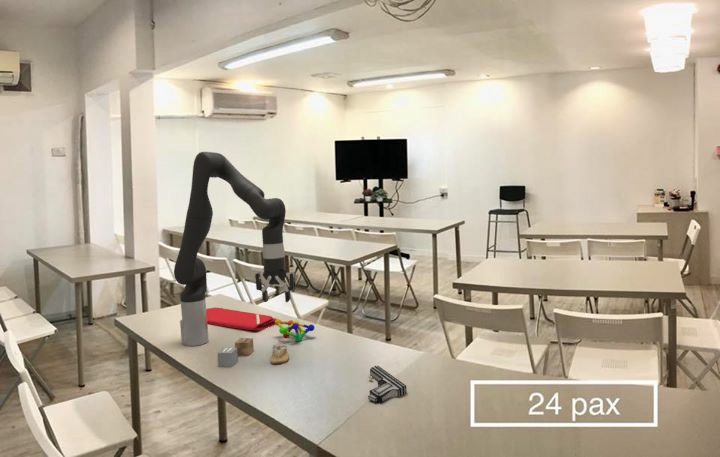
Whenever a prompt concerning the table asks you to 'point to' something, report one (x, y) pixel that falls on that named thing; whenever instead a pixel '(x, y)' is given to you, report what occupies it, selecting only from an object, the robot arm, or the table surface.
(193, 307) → the robot arm
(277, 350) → the sandal
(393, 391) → the handgun
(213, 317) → the dish drying mat
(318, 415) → the table surface
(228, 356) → the slate block
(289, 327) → the decorative model
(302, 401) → the table surface
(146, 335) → the table surface
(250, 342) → the walnut block
